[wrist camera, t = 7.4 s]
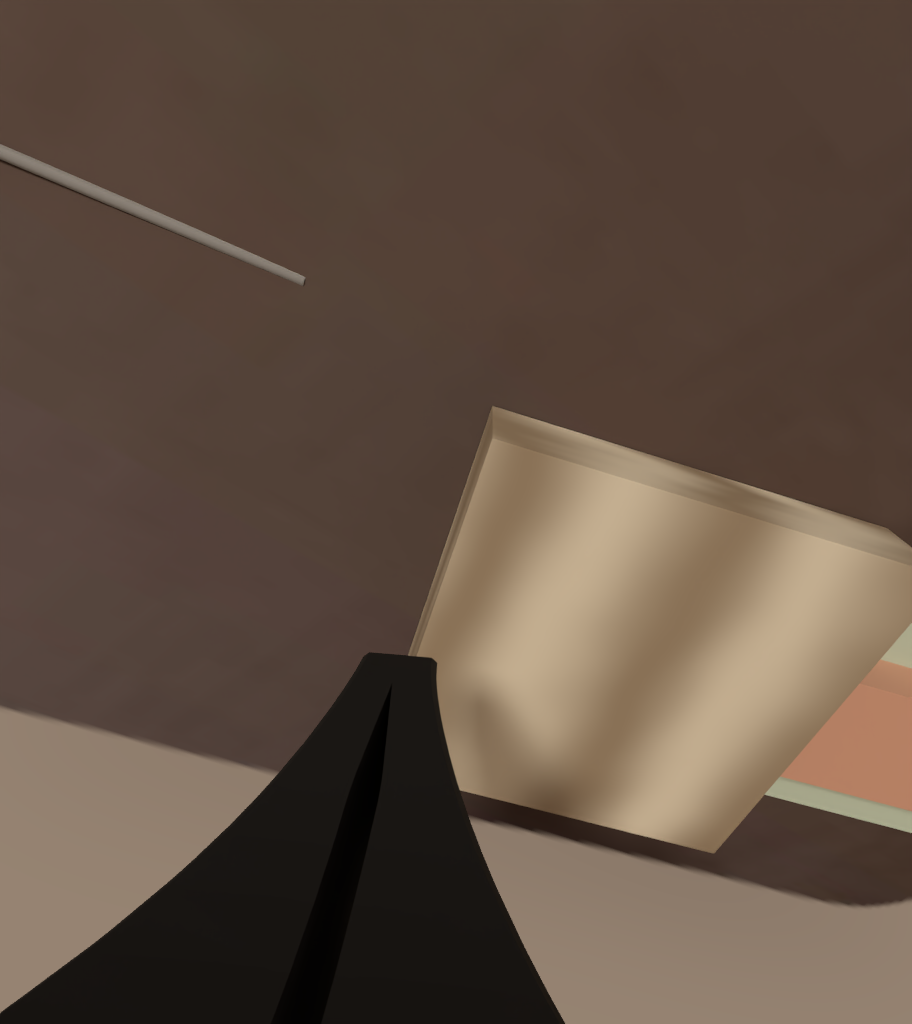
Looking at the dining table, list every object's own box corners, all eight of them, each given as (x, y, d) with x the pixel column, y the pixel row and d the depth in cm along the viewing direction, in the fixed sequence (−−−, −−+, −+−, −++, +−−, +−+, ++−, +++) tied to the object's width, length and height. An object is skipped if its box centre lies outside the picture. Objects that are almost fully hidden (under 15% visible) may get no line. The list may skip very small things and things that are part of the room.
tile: (749, 731, 23) (770, 773, 22) (818, 641, 21) (848, 680, 19) (921, 778, 24) (956, 823, 22) (1007, 696, 22) (1053, 738, 20)
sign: (279, 367, 18) (-254, 153, 16) (288, 360, 18) (-219, 157, 16) (326, 187, 15) (-292, -91, 13) (333, 189, 16) (-251, -75, 14)
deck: (389, 709, 24) (377, 769, 22) (492, 406, 18) (492, 438, 15) (690, 787, 26) (714, 853, 23) (886, 528, 19) (950, 577, 17)
